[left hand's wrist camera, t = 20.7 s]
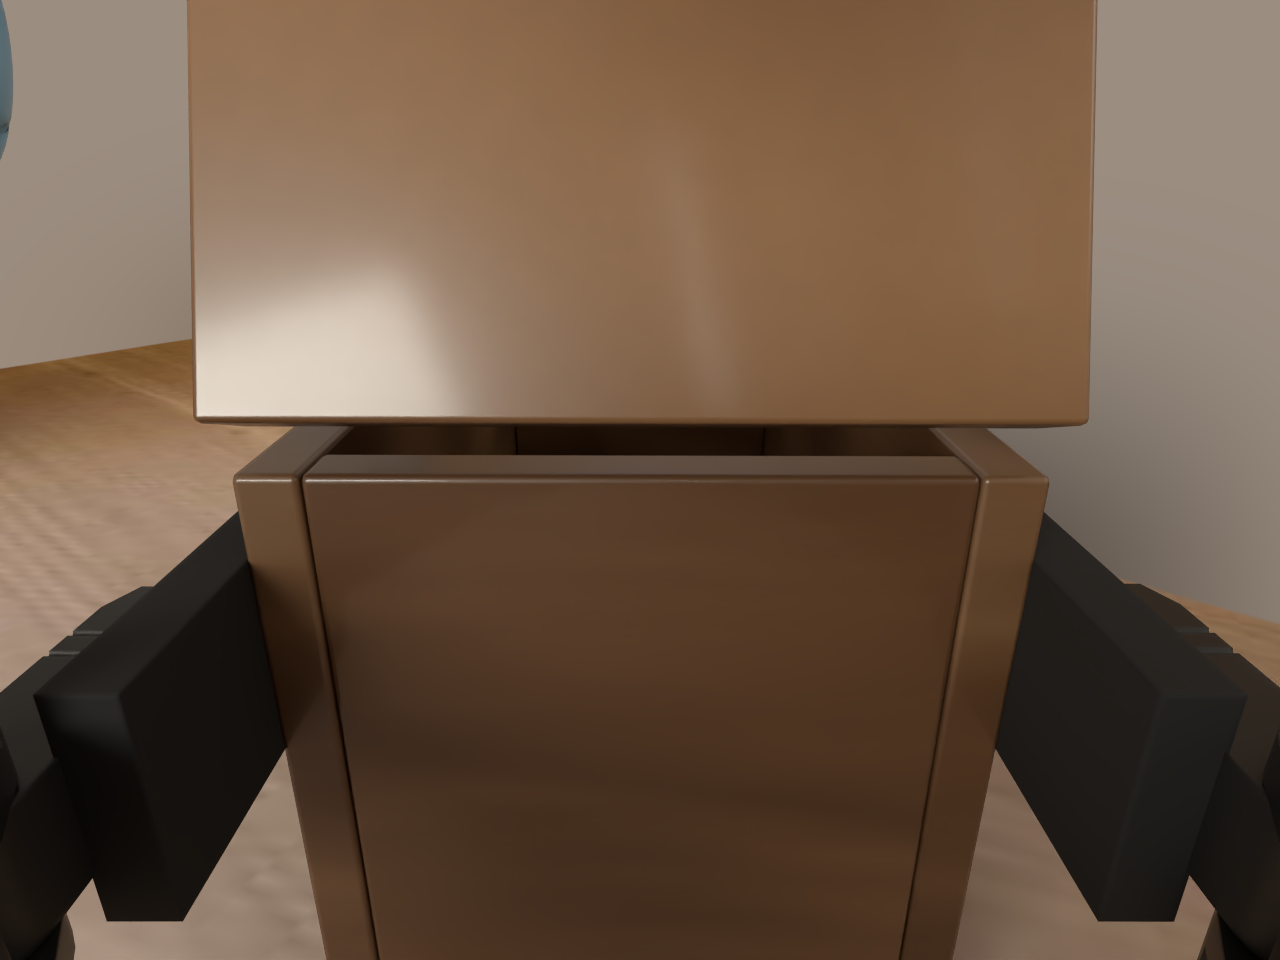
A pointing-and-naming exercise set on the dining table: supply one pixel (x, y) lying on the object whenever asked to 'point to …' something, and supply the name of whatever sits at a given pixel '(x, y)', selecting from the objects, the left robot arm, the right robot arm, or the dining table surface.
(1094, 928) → the dining table surface
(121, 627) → the left robot arm
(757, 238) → the lid
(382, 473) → the chest
